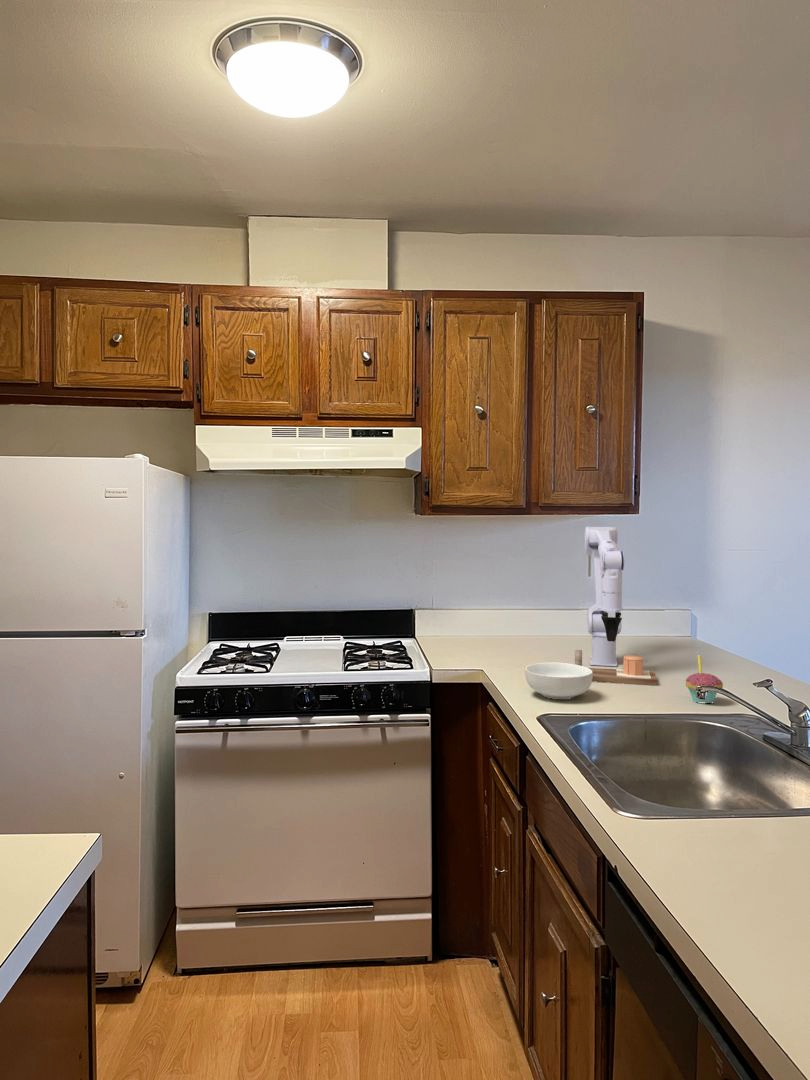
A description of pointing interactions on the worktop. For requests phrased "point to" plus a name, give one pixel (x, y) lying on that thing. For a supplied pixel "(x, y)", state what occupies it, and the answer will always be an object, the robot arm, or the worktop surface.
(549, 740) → the worktop surface
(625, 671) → the cap
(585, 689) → the cereal bowl
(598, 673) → the board
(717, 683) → the cupcake
